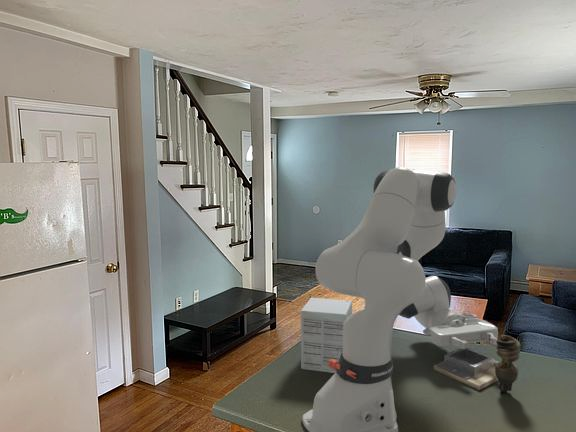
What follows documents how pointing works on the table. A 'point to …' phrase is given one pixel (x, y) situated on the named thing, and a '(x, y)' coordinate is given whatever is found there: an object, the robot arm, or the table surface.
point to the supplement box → (322, 332)
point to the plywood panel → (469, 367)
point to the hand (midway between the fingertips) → (481, 344)
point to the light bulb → (507, 362)
